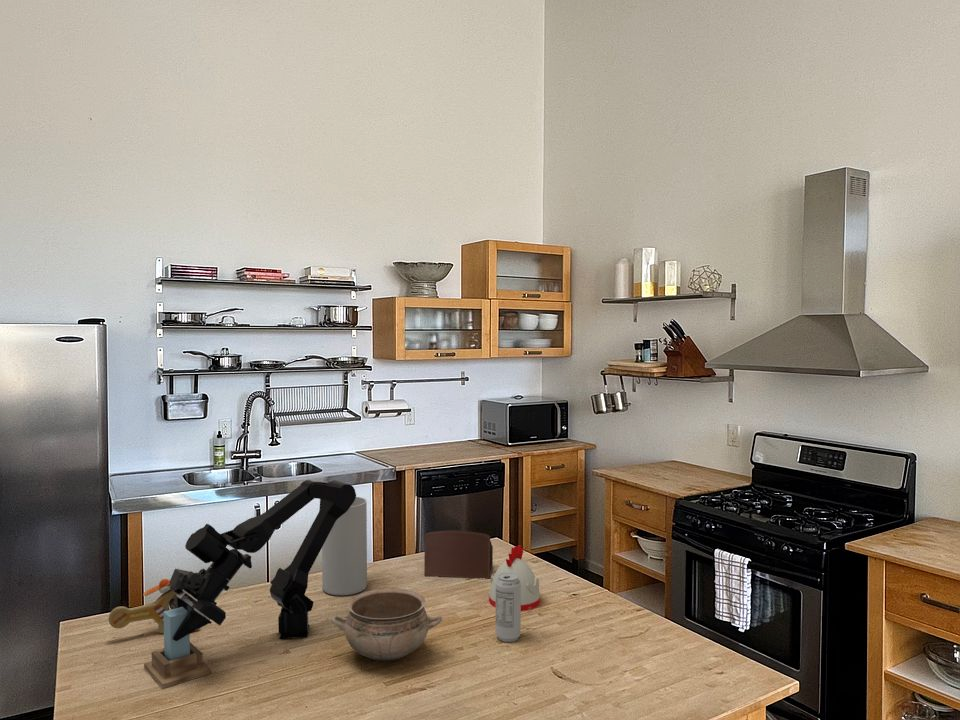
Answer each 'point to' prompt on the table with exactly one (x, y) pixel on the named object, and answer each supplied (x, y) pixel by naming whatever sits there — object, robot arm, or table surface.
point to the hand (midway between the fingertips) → (170, 636)
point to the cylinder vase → (346, 552)
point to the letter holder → (458, 554)
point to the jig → (176, 667)
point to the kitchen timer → (525, 576)
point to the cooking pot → (386, 623)
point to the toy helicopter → (146, 608)
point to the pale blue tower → (170, 627)
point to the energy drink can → (508, 607)
